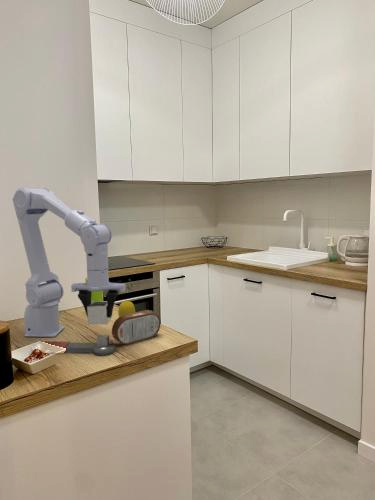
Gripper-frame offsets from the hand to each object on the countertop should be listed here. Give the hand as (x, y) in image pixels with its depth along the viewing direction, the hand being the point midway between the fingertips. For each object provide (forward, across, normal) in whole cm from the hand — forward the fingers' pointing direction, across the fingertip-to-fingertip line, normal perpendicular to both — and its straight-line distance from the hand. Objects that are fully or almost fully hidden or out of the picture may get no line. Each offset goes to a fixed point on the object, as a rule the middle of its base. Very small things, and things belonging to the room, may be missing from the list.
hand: (99, 316), depth 102 cm
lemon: (+9, +4, +18) cm, 20 cm away
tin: (+9, +10, +4) cm, 14 cm away
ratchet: (+9, -6, -4) cm, 11 cm away
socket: (+2, 0, 0) cm, 2 cm away
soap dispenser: (+9, -9, +27) cm, 30 cm away
